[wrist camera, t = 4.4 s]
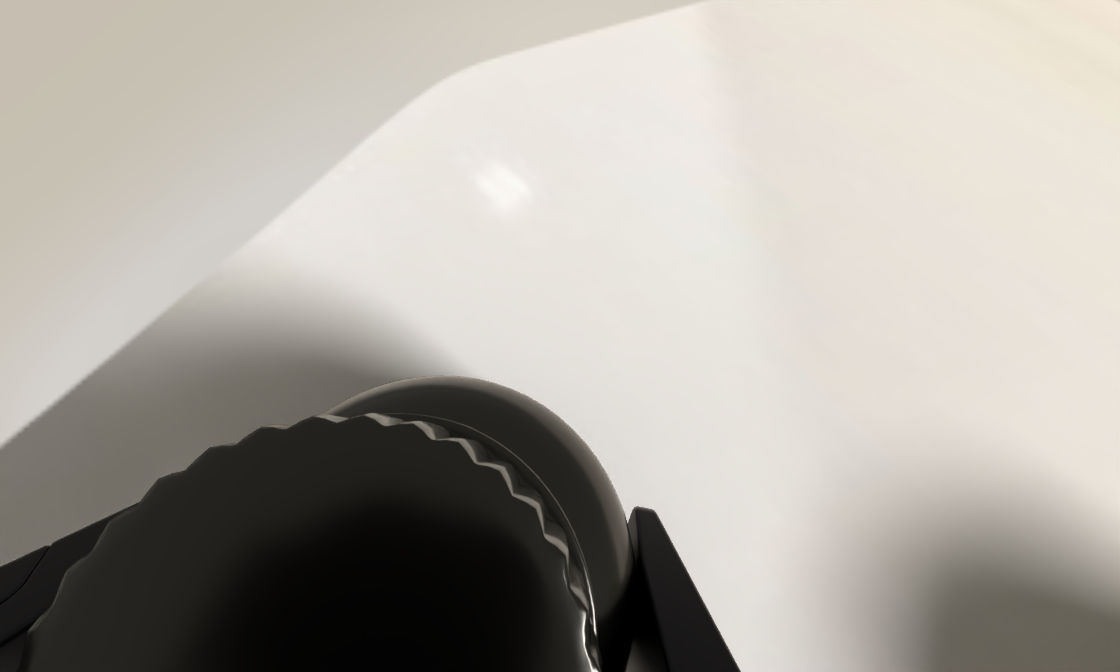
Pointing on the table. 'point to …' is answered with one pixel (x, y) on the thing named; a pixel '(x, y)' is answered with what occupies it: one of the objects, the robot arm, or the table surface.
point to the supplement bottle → (363, 549)
